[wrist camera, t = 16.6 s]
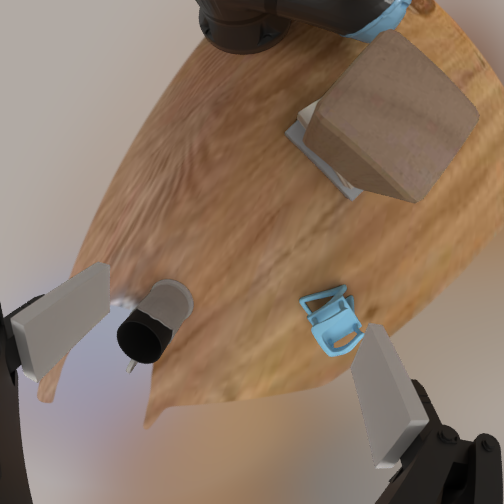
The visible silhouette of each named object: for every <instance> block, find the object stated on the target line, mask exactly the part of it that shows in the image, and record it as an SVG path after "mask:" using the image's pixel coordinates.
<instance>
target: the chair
mask: <svg viewBox="0 0 504 504" xmlns="http://www.w3.org/2000/svg"><path fill="white" fill-rule="evenodd" d="M346 290H347V287H346V285H341V286H339V287H336V288H333V289H329V290H326V291H322V292H318V293H315V294H311V295H307V296H304V297H302V298H300V299H299V302H300V304H301V305H302V307H303V308H304V310H305V311H306V312H307V314H308V316H307V319H308V320H309V321H310V323H311V324H312V325H313V327H312V329H311V330H312V333H313V335H314V337H315V339H316V340H317V342H318V343H319V345H320V346H321V348H322V349H323V350H324V351H325V352H326V354H328V355H329V356H330V357H333V356H338V355H342V354H345V353H348V352H349V351H351V350H352V349H353V348H354V347H355V346H356V344H357V343H358V342H359V341H360V340H361V339H362V338H363V337H364V333H363V332H361V331H360V330H359V328H360V327H362V325H361V323H360V322H359V320H358V318H357V317H356V315H355V313H354V298H353V296H352V295H350V296H348V297H347V298H346V299H345V298H344V297H343V294H344V292H345V291H346ZM333 295H335V296H334V297H333V298H332V299H331V300H330V301H329V302H328V303H326V304H325V305H324V306H322V307H321V308H320V309H318V310H316V311H315V312H313V313H312V312H311V310H310V309H309V308H308V306H307V305H306V304H305V302H307V301H311V300H316V299H320V298H325V297H329V296H333ZM353 331H355V332H356V333H357V335H356V336H355V337H354V338H353V340H351V341H350V342H349V343H348V344H346V345H345V346H342V347H339V348H333V347H334V344H333V343H335V342H336V341H338V340H340V339H341V338H343V337H344V336H346V335H348V334H350V333H351V332H353Z"/></svg>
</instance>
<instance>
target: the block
mask: <svg viewBox="0 0 504 504" xmlns="http://www.w3.org/2000/svg"><path fill="white" fill-rule="evenodd" d="M479 116H480V115H479V113H478V111H477V108H476V107H475V106H474V105H473V104H472V102H471V101H470V100H469V99H468V98H467V97H466V96H465V95H464V93H463V92H462V91H461V90H460V89H459V88H458V87H457V86H456V85H455V84H454V83H453V82H452V81H451V80H450V78H449V77H448V76H447V75H446V74H445V73H444V72H443V71H442V70H441V69H440V68H438V67H437V66H436V65H435V64H434V63H433V62H432V61H431V60H430V59H429V58H428V57H427V56H426V55H425V54H424V53H422V52H421V51H420V50H419V49H418V48H417V47H416V46H415V45H413V44H412V43H411V42H410V41H409V40H407V39H406V38H405V37H404V36H403V35H401V34H400V33H399V32H397V31H395V30H393V29H389V30H386V31H382V32H380V33H379V34H378V35H377V36H376V37H375V38H374V39H373V41H372V42H371V43H370V44H369V45H368V46H367V47H366V48H365V49H364V50H363V51H362V53H361V54H360V55H359V56H358V57H357V58H356V59H355V60H354V61H353V63H352V64H351V65H350V66H349V67H348V68H347V69H346V70H345V72H344V73H343V74H342V75H341V76H340V77H339V78H338V79H337V81H336V82H335V83H334V84H333V85H332V86H331V87H330V89H329V90H328V91H327V92H326V93H325V94H324V96H323V97H322V98H321V99H320V100H319V101H318V102H317V105H316V107H315V110H314V112H313V114H312V117H311V119H310V122H309V124H308V126H307V129H306V131H305V134H304V136H303V140H302V141H303V142H304V144H305V146H306V147H308V148H309V149H310V150H311V151H313V152H314V153H315V154H316V155H317V156H319V157H320V158H321V159H322V160H323V161H325V162H326V163H327V164H328V165H329V166H331V167H332V168H333V169H334V170H335V171H336V172H338V173H339V174H340V175H341V176H342V177H343V178H345V179H346V180H347V181H348V182H349V183H350V184H351V185H352V186H354V187H355V188H358V189H361V190H365V191H369V192H373V193H377V194H381V195H385V196H389V197H393V198H397V199H400V200H404V201H408V202H411V203H417V202H419V201H421V200H422V199H424V197H425V196H426V195H427V194H428V192H429V191H430V190H431V188H432V187H433V186H434V184H435V183H436V182H437V180H438V179H439V178H440V176H441V175H442V173H443V172H444V171H445V169H446V168H447V167H448V165H449V164H450V162H451V161H452V160H453V158H454V157H455V155H456V154H457V152H458V151H459V150H460V148H461V147H462V145H463V144H464V142H465V141H466V139H467V138H468V136H469V135H470V133H471V132H472V130H473V129H474V127H475V126H476V124H477V123H478V121H479Z"/></svg>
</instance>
